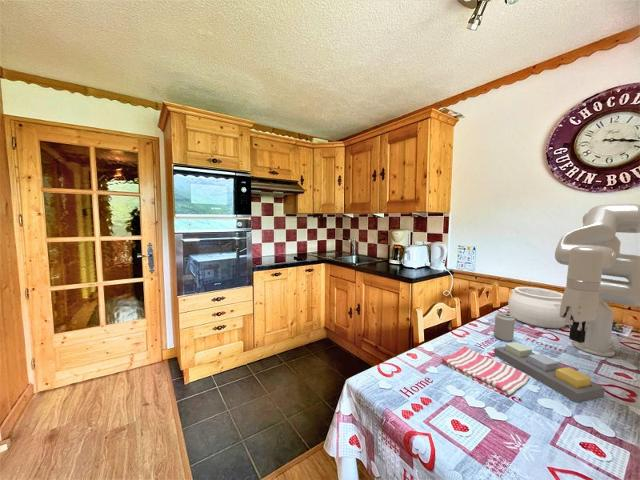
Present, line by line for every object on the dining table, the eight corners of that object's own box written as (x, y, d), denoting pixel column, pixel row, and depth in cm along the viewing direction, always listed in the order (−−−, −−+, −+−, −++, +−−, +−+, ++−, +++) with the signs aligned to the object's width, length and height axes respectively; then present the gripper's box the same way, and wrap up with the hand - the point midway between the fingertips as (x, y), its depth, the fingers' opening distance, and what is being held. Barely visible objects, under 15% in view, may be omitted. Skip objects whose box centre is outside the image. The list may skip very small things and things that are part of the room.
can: (516, 342, 116) (518, 317, 115) (498, 341, 117) (500, 315, 116) (508, 335, 123) (510, 311, 122) (490, 333, 125) (492, 310, 124)
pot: (494, 313, 153) (496, 286, 151) (528, 309, 159) (530, 284, 158) (546, 334, 125) (549, 301, 124) (585, 329, 132) (588, 298, 130)
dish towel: (462, 351, 108) (463, 343, 108) (530, 381, 89) (531, 371, 89) (439, 364, 99) (440, 355, 99) (510, 400, 80) (511, 389, 79)
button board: (516, 351, 108) (517, 344, 108) (603, 396, 81) (604, 387, 81) (494, 354, 105) (494, 348, 105) (576, 402, 78) (577, 393, 78)
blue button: (539, 361, 96) (540, 353, 96) (558, 370, 91) (558, 362, 90) (527, 363, 95) (528, 355, 95) (545, 372, 89) (546, 364, 89)
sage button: (516, 349, 105) (516, 342, 105) (531, 356, 99) (532, 349, 99) (504, 350, 104) (505, 343, 103) (519, 358, 98) (520, 351, 98)
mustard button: (567, 375, 88) (568, 367, 88) (590, 386, 82) (591, 377, 82) (555, 377, 86) (556, 369, 86) (576, 389, 81) (577, 380, 80)
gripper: (584, 281, 87) (578, 333, 88) (552, 283, 83) (546, 337, 85) (614, 287, 80) (607, 344, 81) (580, 289, 76) (574, 348, 77)
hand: (576, 340), depth 83 cm, fingers closed
